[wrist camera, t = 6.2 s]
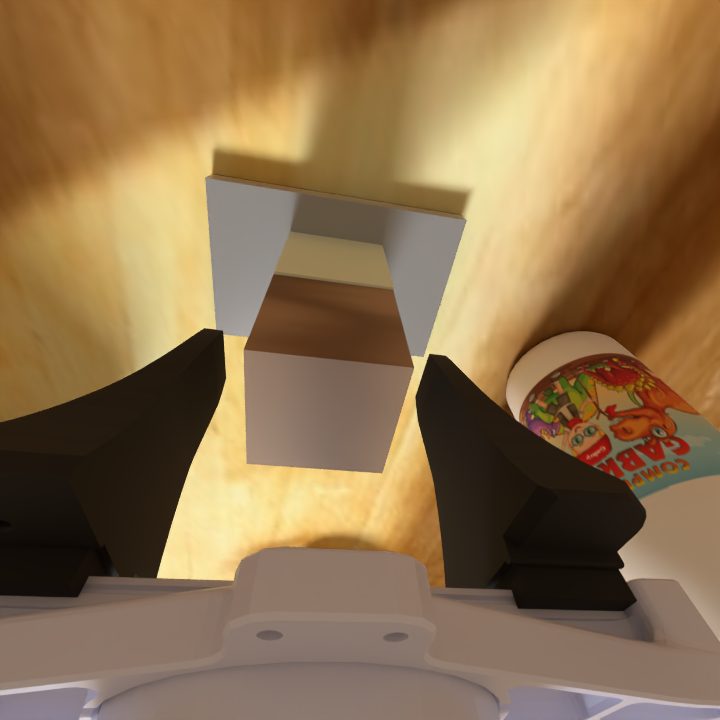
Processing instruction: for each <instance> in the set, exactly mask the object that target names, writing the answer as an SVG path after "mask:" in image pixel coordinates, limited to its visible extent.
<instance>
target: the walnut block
mask: <svg viewBox="0 0 720 720" xmlns="http://www.w3.org/2000/svg"><path fill="white" fill-rule="evenodd" d="M413 370H414V366H413V362H412V359H411V355H410V351H409V347H408V344H407V340H406V336H405V332H404V329H403V325H402V321H401V317H400V314H399V310H398V306H397V302H396V299H395V295H394V291H393V290H390V289H382V288H375V287H367V286H360V285H352V284H345V283H337V282H329V281H322V280H314V279H307V278H299V277H292V276H284V275H276V274H273V277H272V279H271V282H270V284H269V287H268V290H267V292H266V295H265V297H264V300H263V302H262V305H261V307H260V310H259V312H258V315H257V317H256V320H255V323H254V325H253V328H252V330H251V333H250V335H249V338H248V340H247V343H246V345H245V348H244V377H245V413H246V450H247V464H257V465H271V466H286V467H300V468H315V469H329V470H344V471H358V472H372V473H382V472H383V469H384V466H385V462H386V459H387V456H388V452H389V449H390V446H391V443H392V439H393V436H394V433H395V429H396V426H397V423H398V419H399V416H400V413H401V409H402V406H403V403H404V399H405V396H406V393H407V389H408V386H409V383H410V380H411V376H412V373H413Z"/></svg>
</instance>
